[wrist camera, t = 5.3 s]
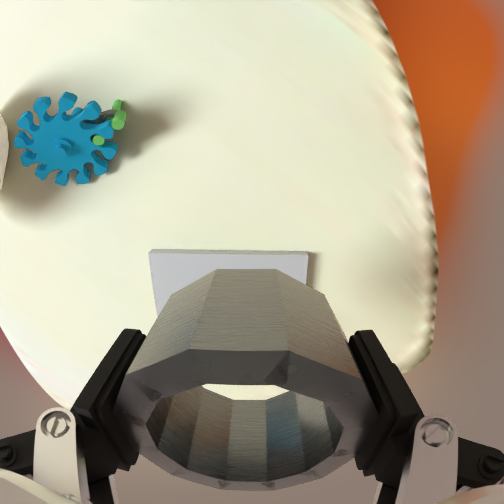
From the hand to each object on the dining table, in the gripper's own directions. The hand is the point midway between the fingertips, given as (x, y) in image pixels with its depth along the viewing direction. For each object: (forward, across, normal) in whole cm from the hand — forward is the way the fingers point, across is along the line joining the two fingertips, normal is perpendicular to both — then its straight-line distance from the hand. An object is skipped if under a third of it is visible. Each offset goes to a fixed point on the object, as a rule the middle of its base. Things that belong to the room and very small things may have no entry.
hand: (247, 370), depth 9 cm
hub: (+1, 0, 0) cm, 1 cm away
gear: (+16, +15, -10) cm, 24 cm away
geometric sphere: (+16, +31, -12) cm, 37 cm away
